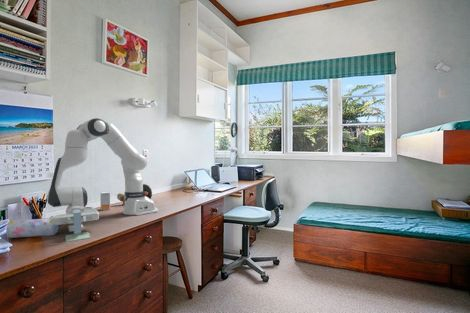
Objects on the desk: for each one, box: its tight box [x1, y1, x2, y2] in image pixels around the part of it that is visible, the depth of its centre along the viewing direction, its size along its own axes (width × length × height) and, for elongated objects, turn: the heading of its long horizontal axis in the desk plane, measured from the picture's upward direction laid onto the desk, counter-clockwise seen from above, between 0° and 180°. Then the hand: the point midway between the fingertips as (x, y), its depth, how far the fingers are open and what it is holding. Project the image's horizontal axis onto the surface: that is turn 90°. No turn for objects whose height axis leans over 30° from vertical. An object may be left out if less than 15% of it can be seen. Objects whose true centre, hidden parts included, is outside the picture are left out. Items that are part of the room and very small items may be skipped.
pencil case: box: [6, 215, 61, 239], centre depth 139 cm, size 21×9×10 cm, turn 106°
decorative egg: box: [143, 183, 153, 200], centre depth 215 cm, size 12×12×15 cm
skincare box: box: [100, 191, 111, 211], centre depth 196 cm, size 6×4×12 cm
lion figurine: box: [116, 193, 125, 206], centre depth 212 cm, size 15×5×9 cm, turn 114°
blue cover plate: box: [73, 210, 82, 234], centre depth 136 cm, size 3×4×10 cm, turn 32°
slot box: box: [67, 223, 85, 233], centre depth 149 cm, size 7×8×2 cm
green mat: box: [65, 231, 91, 243], centre depth 137 cm, size 10×10×1 cm
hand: (77, 221), depth 136 cm, fingers closed on blue cover plate, 3 cm apart
